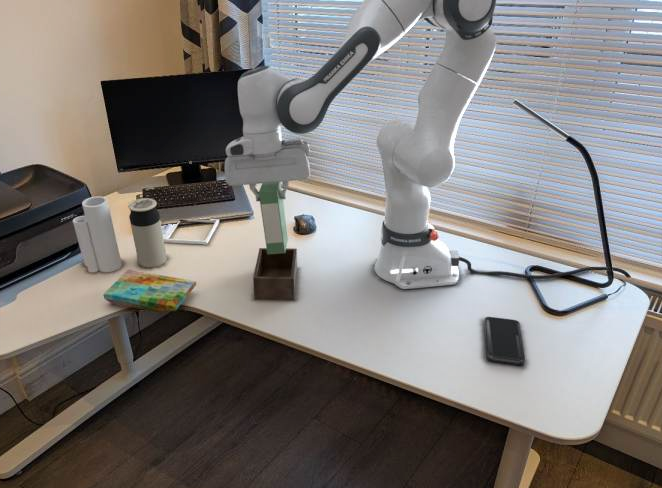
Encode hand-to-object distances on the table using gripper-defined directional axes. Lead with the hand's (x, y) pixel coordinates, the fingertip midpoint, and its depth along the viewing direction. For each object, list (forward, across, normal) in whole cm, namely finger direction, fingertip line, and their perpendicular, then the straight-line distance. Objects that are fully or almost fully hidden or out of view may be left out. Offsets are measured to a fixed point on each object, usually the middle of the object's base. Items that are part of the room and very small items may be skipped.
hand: (271, 199), depth 135 cm
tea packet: (+5, 0, -1) cm, 5 cm away
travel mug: (+20, +38, -12) cm, 45 cm away
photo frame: (+18, +33, -30) cm, 48 cm away
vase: (+18, +52, -9) cm, 56 cm away
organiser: (+24, +2, -3) cm, 24 cm away
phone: (+32, -52, +19) cm, 64 cm away
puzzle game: (+22, +33, +6) cm, 40 cm away
